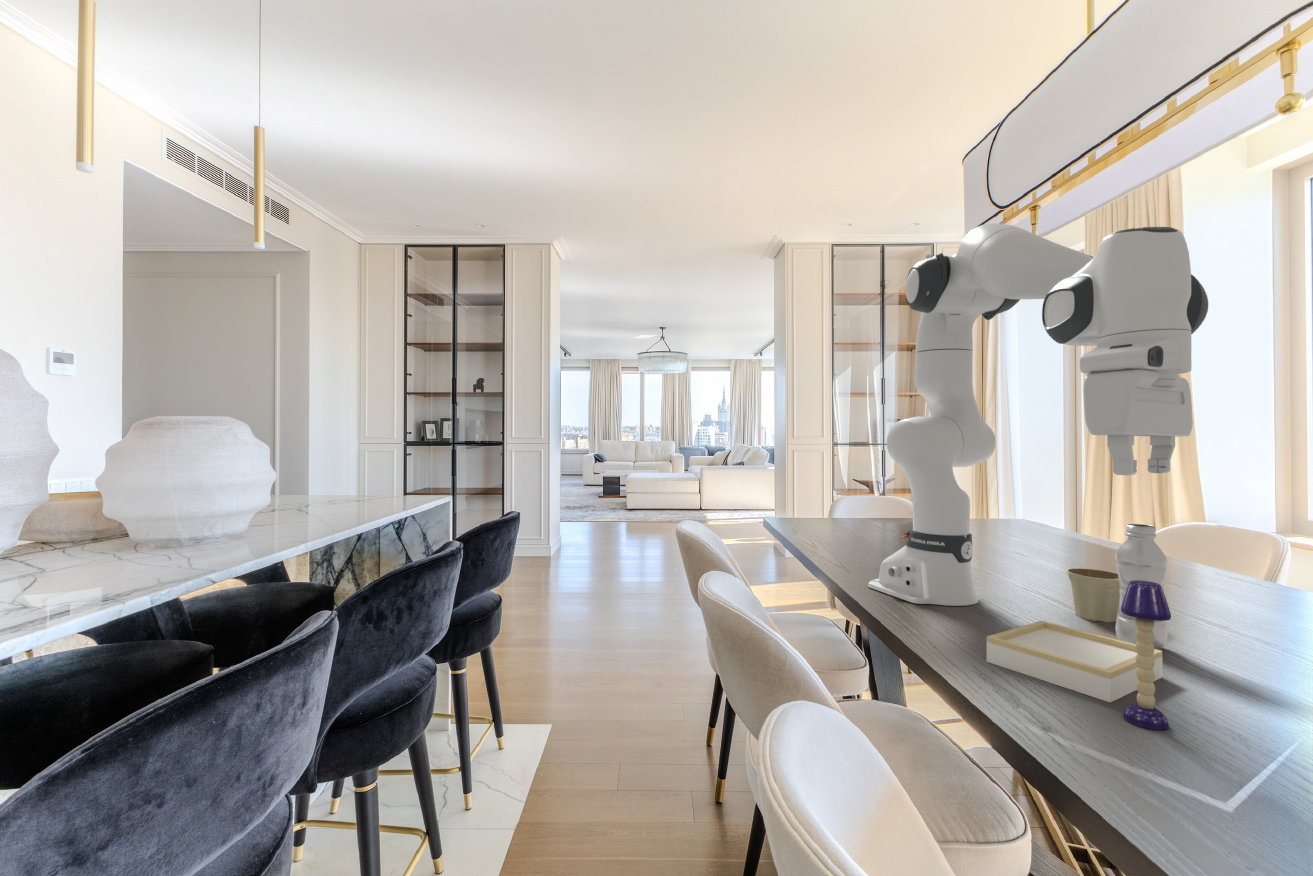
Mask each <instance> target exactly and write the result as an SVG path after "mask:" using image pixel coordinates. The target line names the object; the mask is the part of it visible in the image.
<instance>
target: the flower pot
mask: <svg viewBox="0 0 1313 876" xmlns="http://www.w3.org/2000/svg"><path fill="white" fill-rule="evenodd" d="M1065 571H1066V573H1067V574H1068V580H1069V581H1070V584H1071V590H1072V597H1073V604H1074V612H1075V615H1076V616H1077V617H1079V618H1081V619H1084V620H1088V621H1093V622H1103V623H1113V622H1116V619H1117V616H1118V615H1119V614H1118V611H1119V600H1120V587H1119V577H1118V572H1114V571H1110V570H1103V569H1095V568H1089V567H1088V568H1087V567H1085V568H1084V567H1082V568H1081V567H1073V568H1067V569H1066V570H1065Z"/></svg>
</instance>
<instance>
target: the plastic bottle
mask: <svg viewBox="0 0 1313 876" xmlns="http://www.w3.org/2000/svg"><path fill="white" fill-rule="evenodd" d="M1125 527H1126V528H1125V534H1124V535H1125V536H1127V539H1126V540H1125V541H1124V542H1122V544H1120V545H1119V547H1118V548H1117V549H1116V552H1115V555H1114V558H1115V559H1114V560H1115V565H1116V571H1117V572H1116V573H1118V577H1119V587H1120V600H1119V608H1118V614H1117V619H1116V621H1115V627H1114V629H1115V634H1116V638H1117V639H1118V640H1121V641H1125V642H1129V643H1133V644H1136V642H1137V641H1138V640H1137V638H1136V630H1137V626H1136V622H1135V620H1136V618H1135V617H1131V616H1128V615H1125V614H1123V613H1122V612H1121V606H1122V603H1123V600H1124V597H1125V593H1126V591H1127V587H1128V585H1129V583H1130V581H1133V580H1140V581H1149V582H1155V583H1158V584H1160V585H1161V587H1162V589H1163V590H1164V579H1165V574H1166V569H1167V563H1168V562H1167V561H1168V560H1167V558H1166V555H1165V553H1164V551H1163V550H1162V549H1161V547H1160V546H1159V545H1158V544H1157V543H1156V542H1155V539H1156V538H1157V534H1156V526H1155V525H1151V524H1141V523H1127V524H1126V525H1125ZM1152 631H1153V633H1154V641H1153V642H1152V644H1153V646H1154V649H1157V650H1162V649H1163V648H1165V646H1167V644H1168V642H1167V641H1168V638H1169V634H1168V628H1167V625H1166V622H1165V621H1155V620H1154V628H1153V630H1152Z"/></svg>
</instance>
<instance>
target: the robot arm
mask: <svg viewBox="0 0 1313 876" xmlns="http://www.w3.org/2000/svg"><path fill="white" fill-rule="evenodd" d="M1189 251H1190V250H1189V248H1188V244H1187V241H1186V237H1185V235H1184V234H1183V233H1182V231H1181V230H1179V229H1176V228H1174V227H1171V226H1169V227H1168V226H1144V227H1136V228H1135V227H1132V228H1127V229H1122V230H1117V231H1114V232H1112V233H1110V234H1108V235H1106V236H1105V237H1103V239H1102V240H1101V242H1100V243H1099V246H1098V249H1097V251H1096V253H1095V254H1094V256H1092V255H1089V254H1086V253H1084V252H1081V251H1078V250H1076V249H1073V248H1070V247H1068V246H1065V245H1062V244H1060V243H1056V242H1054V241H1051V240H1049V239H1047V238H1044V237H1042V236H1039V235H1038V234H1035V233H1033V232H1030V231H1028V230H1026V229H1024V228H1020V227H1018V226H1014V225H1012V224H1011V225H1010V224H1007V223H1006V224H1005V223H985V224H980V225H979V226H977V227H974V228H973V229H971V230H970V231H969V232H968V233H967V234H965V236H964V237H963V238H962V240H961V242H960V244H959V246H958V250H957V252H956V253H955V254H953V255H944V253H942V252H940V253H937V254H936V255H934V256H932V257H930V258H926V259H923V260H921V261H918V262H917V263H915V264H914V265H913V266H912V267H911V269H910V270H909V272H908V273H907V276H906V280H905V285H904V287H905V288H904V295H905V301H906V303H907V304H908V307H910V309H911V310H913V311H916V312H919V313H920V312H921V315H920V318H919V323H918V328H917V332H916V333H917V334H916V339H915V340H916V341H915V356H914V357H915V362H914V363H915V365H914V367H915V368H914V388H915V390H916V392H917V393H918V394H919V395H920V396H921V397H922V398H923V400H924V401H925V403H926V404H927V406H928V409H929V412H930V413H929V414H930V416H919V415H917V416H914V417H909V418H905V419H901V420H898V421H896V422H895V423H894V424H892V425H891V427H890V429H889V431H888V433H887V437H886V449H887V451H888V454H889V455H890V457H891V459H892V460H893V461H894V462H895V463H897V464H898V465H899V467H900V468H901V469H902V471H903V473H904V475H905V476H906V477H905V478H906V479H907V482H908V485H909V488H910V494H911V501H912V503H911V504H912V529H911V530H909V531H907V532H902V533H901V535H902V536H901V538H902V539H906V538H907V540H906V542H905V545H904V546H903V547H901V548H900V549H899V550H896V551H895V552H894V553H892V554H891V555H889V556H888V557H886V558H885V559H884V560H883V561H882V562H881V564H880V567H879V573H878V575H879V576H878V578H875V579H872V580H869V582H868V584H867V587H868V588H870V589H873V590H876V591H878V592H881V593H883V594H887V595H889V596H893V597H895V598H898V599H900V600H904V601H907V602H910V603H913V604H919V605H927V604H928V605H938V606H940V605H941V606H948V607H949V606H952V607H957V606H958V607H960V606H961V607H963V606H964V607H965V606H972V605H975V604H978V603H979V602H980V601H979V597H978V595H977V591H976V588H975V583H974V578H973V577H974V576H973V570H972V556H973V534H972V533H971V526H970V525H971V523H970V521H971V500H970V497H969V495H968V494H967V492H966V491H965V490H963V489H962V488H961V487H960V486H959V484H958V483H957V480H956V478H955V474H954V470H953V468H967V467H971V466H975V465H978V464H980V463H983V462H986V461H988V460H989V459H990V458H991V456H993V454H994V451H995V449H996V443H997V441H996V436H995V432H994V431H993V429H992V428H991V427H990V426H989V425H988V424H987V423H986V421H985V420H984V419H983V417H982V415H981V413H980V410H979V407H978V404H977V401H976V397H975V393H974V387H973V385H974V384H973V351H974V350H973V349H974V347H973V345H974V344H973V343H974V342H973V326H974V323H975V321H976V320H977V319H978V317H980V316H981V315H982V317H983V318H984V319H985V320H986V321H989V320H993V318H995V316H997V315H999V314H1002V313H1004V312H1006V311H1009V310H1010V309H1013V307H1014V306H1015V305H1017V304H1018V303H1019V302H1020V301H1021V300H1043V303H1042V310H1041V319H1042V324H1043V328H1044V330H1045V331H1046V334H1047V335H1048V337H1050V338H1051V339H1052V340H1053V341H1054V342H1055V343H1057V344H1060V345H1066V346H1077V347H1078V346H1082V347H1087V346H1093V347H1094V348H1093V349H1092V350H1090V351H1087V352H1086V353H1084V354H1082V355H1081V356H1080V357H1079V370H1080V372H1081V374H1084V375H1085V377H1084V380H1083V388H1082V389H1083V409H1084V410H1083V411H1084V420H1085V425H1086V427H1087V430H1088V431H1089V434H1091V436H1106V437H1107V438H1106V440H1107V441H1106V445H1107V448H1108V451H1109V453H1110V456H1111V459H1112V472H1113V473H1114V474H1115V475H1116V476H1134V475H1136V474H1137V472H1138V470H1137V464H1138V462H1137V461H1138V460H1137V459H1135V457H1134V453H1133V451H1134V450H1133V446H1134V445H1135V437H1149V446H1151V450H1150V451H1151V452H1150V458H1147V471H1148V472H1149V473H1151V474H1168V473H1170V471H1171V459H1172V456H1173V453H1174V450H1175V448H1176V437H1177V438H1178V437H1180V438H1181V437H1189V436H1190V435H1191V433H1192V431H1193V425H1194V424H1193V423H1194V422H1193V406H1192V394H1191V387H1190V383H1189V381H1188V380H1187V379H1186V378H1185V377H1181V376H1180V374H1181V375H1182V374H1185V373H1189V372H1191V371H1192V366H1193V365H1192V335H1193V334H1194V333H1195V332H1196V331H1197V330H1198V329H1199V328H1200V326H1201V325H1202V323H1203V322H1204V321H1205V319H1206V318H1207V314H1208V312H1209V311H1208V310H1209V298H1208V295H1207V292H1206V290H1205V288H1204V286H1203V285H1202V284H1201V282H1200V281H1199V280H1198V279H1197V277H1195V275H1193V274H1192V271H1191V269H1192V268H1191V260H1190V252H1189ZM1095 346H1096V347H1095Z"/></svg>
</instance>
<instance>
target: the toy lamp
mask: <svg viewBox="0 0 1313 876" xmlns="http://www.w3.org/2000/svg"><path fill="white" fill-rule="evenodd" d="M1121 612H1122V613H1123V614H1125V615H1128V616H1131V617H1135V618H1136V620H1135V622H1136V626H1137V630H1136V638H1137V640H1138V641H1137V642H1136V651H1137V655H1136V664H1137V666H1138V667H1137V669H1136V676H1137V678H1138V680H1137V683H1136V687H1137V690H1136V691H1137V692H1138V693H1137V694H1136V701H1137V703H1131V704H1128V705H1127V706H1126V707H1125V708H1124V710H1123V713H1122V718H1123V719H1124V720H1125V721H1127V722H1128V723H1130V724H1132V725H1134V726H1138V727H1142V728H1145V729H1149V730H1150V729H1151V730H1157V731H1158V730H1159V731H1161V730H1162V731H1163V730H1167V729H1169V727H1170V724H1169V721H1168V719H1167V717H1166V715H1165V714H1164V713H1163V712H1162V711H1161V710H1160V709H1158V708H1156V707H1155V706H1156V698H1155V695H1154V694H1155V693H1156V685H1155V684H1154V682H1155V681H1154V679H1155V673H1154V670H1153V668H1154V663H1155V662H1154V658H1153V656H1152V655H1153V654H1154V646H1153V644H1152V642H1153V641H1154V633H1153V631H1152V630H1153V628H1154V620H1155V621H1164V622H1165V621H1170V620H1171V619H1172V615H1171V609H1170V608H1169V604H1168V600H1167V598H1166V595H1165V593H1164V588H1163V589H1162V587H1161V585H1160V584H1158V583H1155V582H1149V581H1140V580H1133V581H1130V583H1129V585H1128V587H1127V591H1126V593H1125V597H1124V600H1123V603H1122V606H1121ZM1153 681H1154V682H1153Z"/></svg>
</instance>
